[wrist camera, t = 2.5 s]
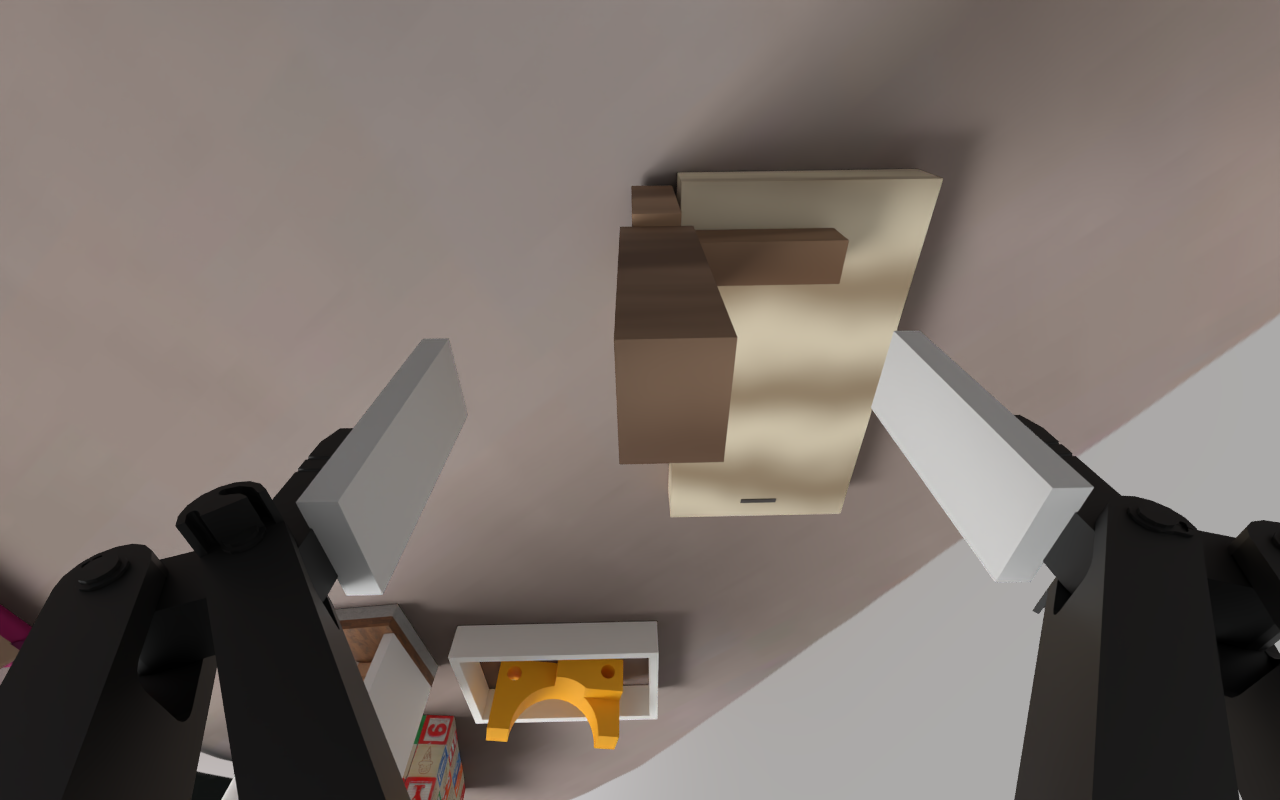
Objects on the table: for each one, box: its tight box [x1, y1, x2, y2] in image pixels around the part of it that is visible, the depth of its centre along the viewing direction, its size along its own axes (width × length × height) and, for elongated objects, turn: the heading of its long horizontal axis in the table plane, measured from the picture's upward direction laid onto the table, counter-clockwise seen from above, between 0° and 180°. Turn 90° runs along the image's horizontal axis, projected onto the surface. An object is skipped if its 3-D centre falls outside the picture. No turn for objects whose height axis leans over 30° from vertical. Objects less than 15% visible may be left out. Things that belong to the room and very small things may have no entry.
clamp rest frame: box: [448, 621, 659, 724], centre depth 49 cm, size 13×19×3 cm
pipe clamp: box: [486, 659, 623, 749], centre depth 48 cm, size 12×4×6 cm, turn 78°
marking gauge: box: [614, 185, 849, 464], centre depth 20 cm, size 5×10×16 cm, turn 91°
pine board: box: [668, 169, 943, 517], centre depth 30 cm, size 22×12×3 cm, turn 1°
